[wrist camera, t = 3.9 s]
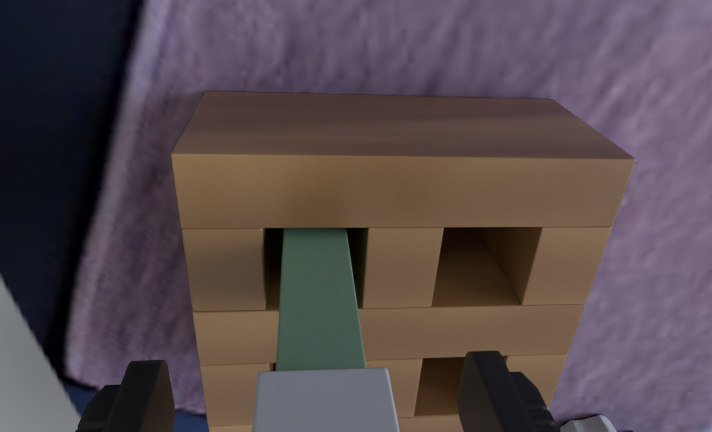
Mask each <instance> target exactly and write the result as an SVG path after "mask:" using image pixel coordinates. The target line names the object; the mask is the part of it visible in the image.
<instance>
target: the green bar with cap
mask: <svg viewBox="0 0 712 432" xmlns="http://www.w3.org/2000/svg"><path fill="white" fill-rule="evenodd" d="M252 432H400V430H399V425H398V420H397V415H396V409H395V404H394V399H393V394H392V389H391V383H390V378H389V373H388V370H387V368H384V367H382V368H366V362H365V355H364V348H363V341H362V334H361V327H360V320H359V313H358V307H357V300H356V293H355V286H354V279H353V272H352V265H351V258H350V251H349V245H348V238H347V231H346V228H284V233H283V250H282V268H281V286H280V303H279V321H278V339H277V356H276V371H262V372H259V374H258V376H257V384H256V395H255V405H254V415H253V426H252Z"/></svg>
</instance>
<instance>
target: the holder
mask: <svg viewBox="0 0 712 432" xmlns="http://www.w3.org/2000/svg"><path fill="white" fill-rule="evenodd" d="M171 161H172V169H173V176H174V183H175V190H176V198H177V205H178V212H179V219H180V226H181V228H182V230H181V231H182V238H183V245H184V253H185V260H186V267H187V275H188V282H189V289H190V296H191V304H192V309H193V312H192V314H193V321H194V328H195V335H196V343H197V350H198V357H199V364H200V371H201V379H202V386H203V393H204V400H205V408H206V415H207V422H208V427H209V432H252V426H253V415H254V405H255V395H256V384H257V376H258V374H259V372H262V371H276V356H277V339H278V321H279V303H280V286H281V268H282V250H283V233H284V228H346V231H347V238H348V245H349V251H350V258H351V265H352V272H353V279H354V286H355V293H356V300H357V307H358V313H359V320H360V327H361V334H362V341H363V348H364V355H365V362H366V368H382V367H384V368H387V370H388V373H389V378H390V383H391V389H392V394H393V399H394V404H395V409H396V415H397V420H398V425H399V430H400V432H464V431H463V428H462V425H461V422H460V418H459V414H458V407H457V394H458V389H459V384H460V379H461V375H462V370H463V365H464V361H465V356H466V354H467V352H468V351H499V352H500V353H501V355H502V357H503V359H504V361H505V363H506V365H507V368H508V370H509V372H520V371H521V372H522V373H523V374H524V375H525V376H526V377H527V378H528V379H529V380H530V381H531V382H532V383H533V384H534V385H535V386H536V387H537V388H538V390H539V392H540V394H541V396H542V398H543V400H544V402H545V404H546V406H547V410H549V407H550V404H551V402H552V399H553V396H554V393H555V390H556V387H557V384H558V382H559V379H560V376H561V373H562V370H563V367H564V364H565V362H566V359H567V356H568V353H569V350H570V347H571V345H572V342H573V339H574V336H575V333H576V330H577V327H578V324H579V322H580V319H581V316H582V313H583V310H584V307H585V303H586V301H587V298H588V296H589V293H590V290H591V287H592V284H593V281H594V278H595V276H596V273H597V270H598V267H599V264H600V261H601V258H602V255H603V253H604V250H605V247H606V244H607V241H608V238H609V235H610V233H611V230H612V226H613V224H614V221H615V218H616V216H617V213H618V210H619V207H620V204H621V201H622V198H623V195H624V193H625V190H626V187H627V184H628V181H629V178H630V175H631V173H632V170H633V167H634V164H635V161H636V159H635V158H634V157H632V156H631V155H630V154H628V153H627V152H625V151H624V150H623V149H621V148H620V147H618V146H617V145H616V144H614V143H613V142H611V141H610V140H609V139H607V138H606V137H604V136H603V135H602V134H600V133H599V132H597V131H596V130H595V129H593V128H592V127H590V126H589V125H588V124H586V123H585V122H583V121H582V120H581V119H579V118H578V117H576V116H575V115H574V114H572V113H571V112H569V111H568V110H567V109H565V108H564V107H563V106H561V105H560V104H558V103H557V102H556V101H554V100H553V99H523V98H481V97H439V96H396V95H354V94H312V93H269V92H227V91H206V92H205V93H204V95H203V97H202V99H201V101H200V102H199V104H198V106H197V108H196V110H195V111H194V113H193V115H192V117H191V119H190V120H189V122H188V124H187V126H186V128H185V129H184V131H183V133H182V135H181V137H180V138H179V140H178V142H177V144H176V146H175V147H174V149H173V151H172V153H171Z"/></svg>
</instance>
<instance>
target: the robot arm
mask: <svg viewBox="0 0 712 432" xmlns="http://www.w3.org/2000/svg"><path fill="white" fill-rule="evenodd" d="M457 407H458V414H459V418H460V422H461V425H462V428H463V431H464V432H560V431H559V429H558V427H557V426H555V421H554V419H553V418H552V416H551V414H550V412H549V410H547V406H546V404H545V402H544V400H543V398H542V396H541V394H540V392H539V390H538V388H537V387H536V386H535V385H534V384H533V383H532V382H531V381H530V380H529V379H528V378H527V377H526V376H525V375H524V374H523V373H522V372H521V371H520V372H509V370H508V368H507V365H506V363H505V361H504V359H503V357H502V355H501V353H500V352H499V351H468V352H467V354H466V356H465V361H464V365H463V370H462V375H461V379H460V384H459V389H458V394H457ZM174 418H175V405H174V399H173V393H172V388H171V382H170V377H169V371H168V366H167V362H166V361H165V360H145V361H131V362H130V363H129V365H128V367H127V370H126V372H125V375H124V377H123V380H122V383H121V385H105V386H104V387H103V388H102V389H101V390H100V391H99V392H98V393H97V395H96V396H95V397H94V398H93V399H92V400H91V401H90V402H89V403H88V404H87V406H86V409H85V411H84V413H83V415H82V418H81V420H80V422H79V425H78V430H76V431H75V432H173V427H174Z"/></svg>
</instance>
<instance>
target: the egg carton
mask: <svg viewBox="0 0 712 432" xmlns="http://www.w3.org/2000/svg"><path fill="white" fill-rule="evenodd" d="M560 431H561V432H617V431H616V430H615V428H614V427H613V425H612V424H611V422H610V421H609V420H608V419H607V417H605V416H603V415H597V416H596V417H590V418H587V419H584V420H571V421H569V422H567V423H566V424H565V425H563V426H561V427H560ZM633 432H635V431H633Z"/></svg>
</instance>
